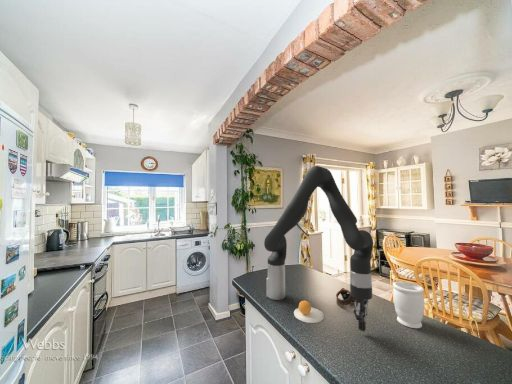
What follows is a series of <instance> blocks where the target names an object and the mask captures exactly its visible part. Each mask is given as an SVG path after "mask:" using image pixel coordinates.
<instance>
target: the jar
mask: <svg viewBox="0 0 512 384" xmlns="http://www.w3.org/2000/svg"><path fill="white" fill-rule="evenodd" d="M392 287H393V288H394V289H393V293H392V295H393V296H392V297H393V299H392V300H393V304H394V310H395V313H396V315H397V317H396V321H397V322H398V323H399V324H401V325H402V326H405V327H408V328H411V329H421V328H422V327H423V323H422V320H423V318H424V312H425V297H424V295H423V293H424V288H423V287H422V286H421V285H418V284H416V283H413V282H409V281H408V282H407V281H394V282H392Z"/></svg>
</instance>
